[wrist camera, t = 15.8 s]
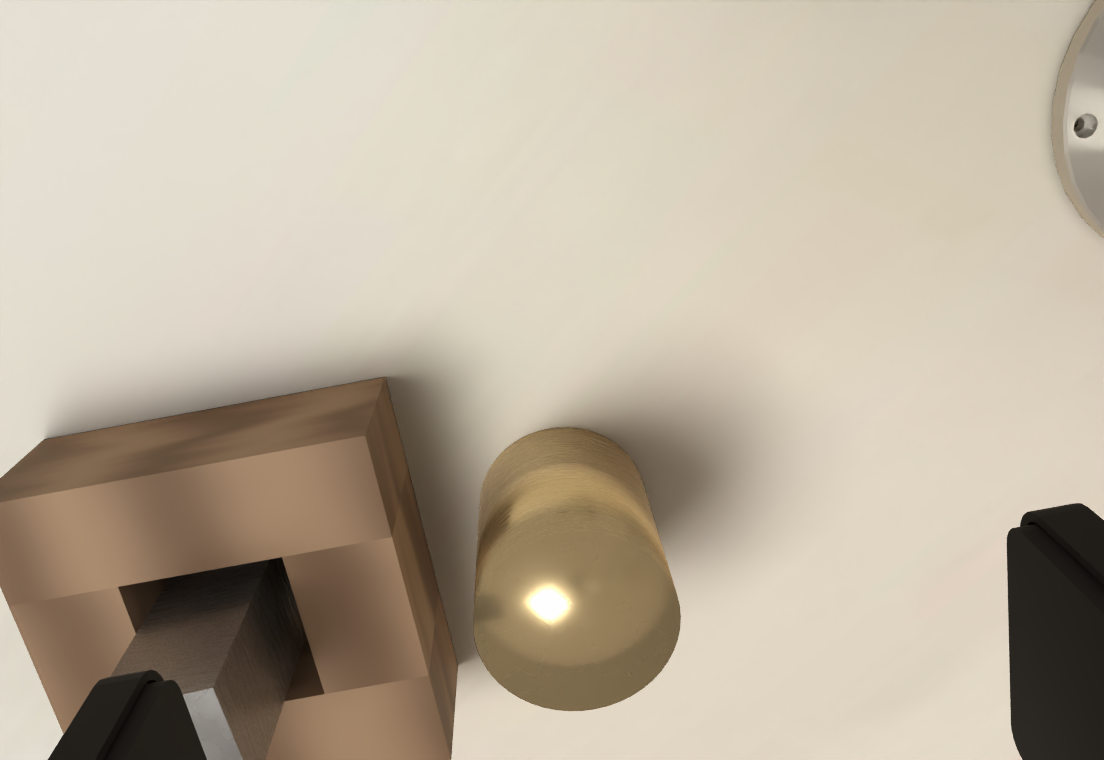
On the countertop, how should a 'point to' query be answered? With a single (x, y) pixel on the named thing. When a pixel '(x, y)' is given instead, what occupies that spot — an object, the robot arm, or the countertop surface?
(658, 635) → the round bit
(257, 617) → the square bit
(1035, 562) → the robot arm
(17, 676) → the countertop surface
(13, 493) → the bore block
